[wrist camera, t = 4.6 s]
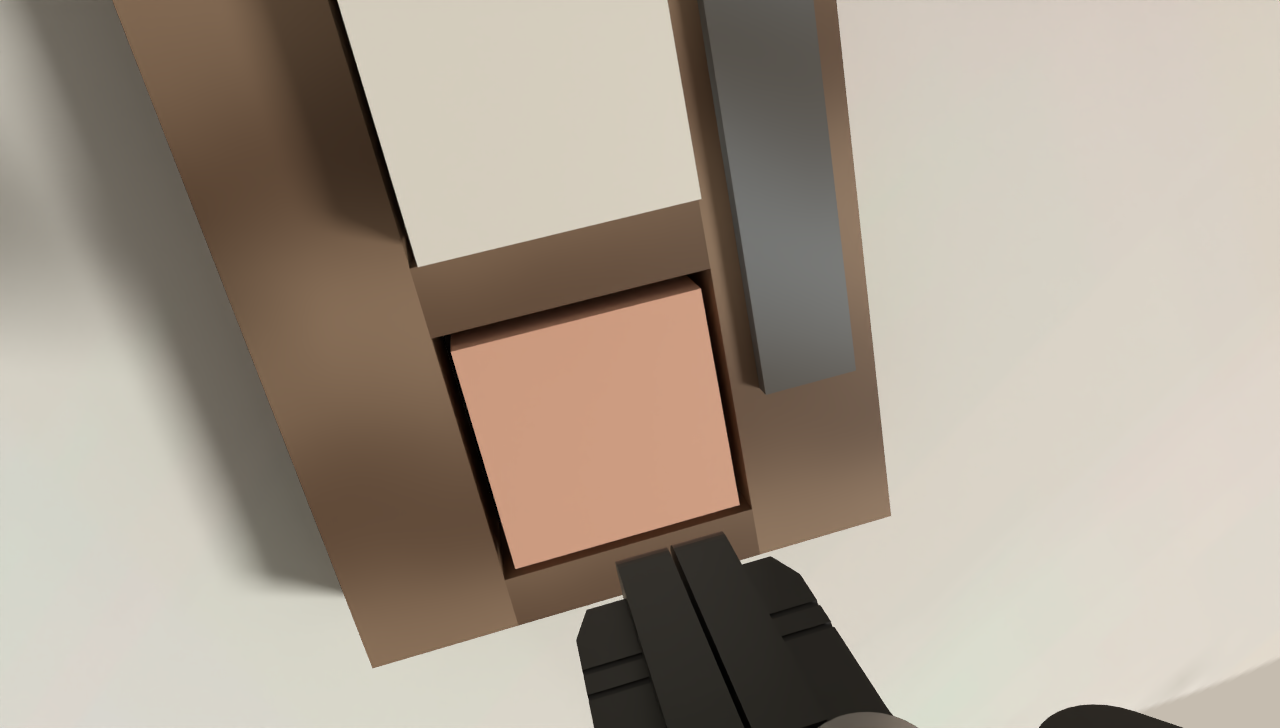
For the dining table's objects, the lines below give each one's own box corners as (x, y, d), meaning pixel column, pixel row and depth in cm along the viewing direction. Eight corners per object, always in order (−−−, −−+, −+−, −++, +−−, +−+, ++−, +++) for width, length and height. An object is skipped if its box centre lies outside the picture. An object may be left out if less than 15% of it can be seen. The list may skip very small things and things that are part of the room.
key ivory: (339, -40, 15) (320, -57, 13) (618, -95, 16) (647, -120, 13) (422, 239, 17) (417, 267, 15) (669, 181, 17) (701, 199, 15)
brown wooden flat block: (-64, -597, 13) (-198, -768, 10) (701, -683, 14) (757, -855, 12) (381, 600, 21) (371, 680, 18) (845, 468, 22) (898, 524, 20)
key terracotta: (451, 317, 19) (450, 351, 16) (672, 262, 19) (700, 288, 17) (508, 513, 20) (515, 569, 18) (709, 457, 21) (739, 504, 19)
